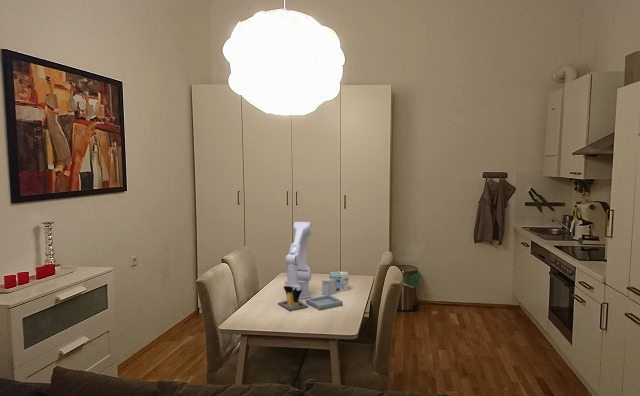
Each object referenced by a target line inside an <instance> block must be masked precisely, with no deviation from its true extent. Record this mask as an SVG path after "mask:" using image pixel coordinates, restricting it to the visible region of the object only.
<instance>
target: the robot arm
mask: <svg viewBox="0 0 640 396" xmlns="http://www.w3.org/2000/svg"><path fill="white" fill-rule="evenodd" d="M312 228H313V225H312V222H310V221H294V223H293V227H292V229H293V231H294V237H293V238H294V239H293V242H292V243H291V244H290V248H289V251H288V254H287V255H285V268H286V274H287V275H286V277H287V278H286V279H287V280H285V281H284V286H283V289H284V292H285V294H286V296H287V293H288V292H292V294H293V299H294V303H296V302H298V301H300V300H301V299H309V298H312V295H310V293H309V292H310V291H309V286H310V285H309V282H310V281H311V280H312V268H311V267H310V266H309V265H308V246H309V238H310V237H312V232H313V231H312V230H313V229H312Z"/></svg>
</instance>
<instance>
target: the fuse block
mask: <svg viewBox="0 0 640 396" xmlns="http://www.w3.org/2000/svg"><path fill="white" fill-rule="evenodd" d="M286 301H287V304H286V305H287V306H288V307H290V308H294V307H299V305H298V302H296V303H294V299H293V294H292V292H288V293H287V295H286Z"/></svg>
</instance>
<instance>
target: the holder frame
mask: <svg viewBox="0 0 640 396" xmlns="http://www.w3.org/2000/svg"><path fill="white" fill-rule="evenodd" d="M277 305H278V306H279V307H281V308H283V309H285V310H286V311H288V312H295V311H299V310H300V311H301V310H304V309H309V305H308V304H306V303H303V302H302V301H300V300H298V307H293V308H290V307H288V306H287V300H285V301H284V300H283V301H279V302H277Z"/></svg>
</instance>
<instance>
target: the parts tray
mask: <svg viewBox="0 0 640 396" xmlns="http://www.w3.org/2000/svg"><path fill="white" fill-rule="evenodd" d="M305 299H306V301H305V305H307V306H311V307H312V308H314V309H316V310H318V311H325V310H329V309H334V308H338V307H343V306H344V305H343V300H341V299H339V298H336V297H334V296H332V295H321V296H317V297H309V298H305Z"/></svg>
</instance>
